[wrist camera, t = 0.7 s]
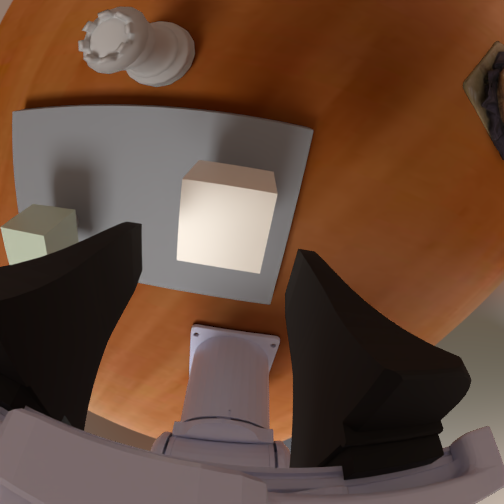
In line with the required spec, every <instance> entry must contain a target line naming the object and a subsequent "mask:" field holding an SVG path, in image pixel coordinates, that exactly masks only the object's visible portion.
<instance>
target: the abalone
mask: <svg viewBox="0 0 504 504" xmlns="http://www.w3.org/2000/svg"><path fill="white" fill-rule="evenodd" d="M463 89H464V91H465V93H466V94H467V96H468V98H469V100H470V102H471V103H472V105H473V106H474V108H475V110H476V112H477V114H478V115H479V117H480V119H481V121H482V123H483V125H484V126H485V128H486V130H487V132H488V134H489V136H490V138H491V140H492V141H493V143H494V145H495V146H496V148H497V150H498V151H499V153H500V155H501V157H502V160H504V45H503V44H502V43H500V42H499V41H496V42H495V43H494V44H493V46H492V47H491V49H490V50H489V51H488V52H487V54H486V55H485V56H484V57H483V58H482V60H481V61H480V63H479V64H478V65H477V66H476V67H475V68H474V70H473V71H472V72H471V73H470V75H469V76H468V77H467V79H466V80H465V81H464V82H463Z"/></svg>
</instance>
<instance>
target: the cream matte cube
mask: <svg viewBox="0 0 504 504" xmlns="http://www.w3.org/2000/svg"><path fill="white" fill-rule="evenodd" d="M277 195H278V193H277V188H276V182H275V177H274V172H272V171H267V170H261V169H255V168H249V167H243V166H237V165H231V164H224V163H218V162H211V161H203V160H198V162H197V163H196V164H195V165H194V166H193V167H192V168H191V169H190V171H189V172H188V173H187V174H186V175H185V176H184V177H183V179H182V187H181V199H180V211H179V225H178V242H177V260H178V261H184V262H190V263H196V264H202V265H208V266H215V267H221V268H227V269H233V270H239V271H246V272H252V273H258V274H260V271H261V267H262V262H263V258H264V253H265V249H266V244H267V240H268V235H269V231H270V226H271V222H272V217H273V213H274V208H275V204H276V199H277Z"/></svg>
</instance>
